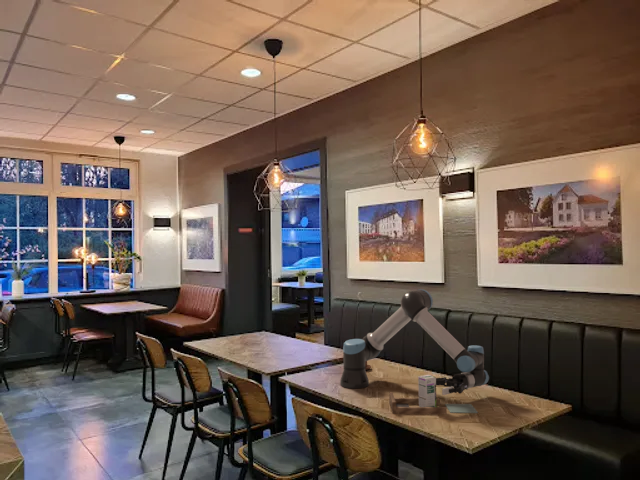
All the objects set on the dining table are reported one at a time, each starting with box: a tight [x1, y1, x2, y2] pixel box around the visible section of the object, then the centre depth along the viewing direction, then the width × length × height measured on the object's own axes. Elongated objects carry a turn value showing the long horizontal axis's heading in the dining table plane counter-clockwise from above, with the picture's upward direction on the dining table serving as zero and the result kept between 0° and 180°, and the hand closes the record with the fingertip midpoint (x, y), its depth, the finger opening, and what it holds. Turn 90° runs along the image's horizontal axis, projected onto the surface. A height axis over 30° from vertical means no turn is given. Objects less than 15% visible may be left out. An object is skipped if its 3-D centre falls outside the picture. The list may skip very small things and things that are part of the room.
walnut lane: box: [388, 391, 448, 415], centre depth 224 cm, size 24×15×5 cm, turn 87°
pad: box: [444, 403, 479, 414], centre depth 223 cm, size 12×12×1 cm
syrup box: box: [417, 374, 438, 407], centre depth 224 cm, size 6×6×14 cm
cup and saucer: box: [365, 361, 372, 371], centre depth 299 cm, size 12×12×6 cm
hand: (431, 388), depth 225 cm, fingers open, 13 cm apart
